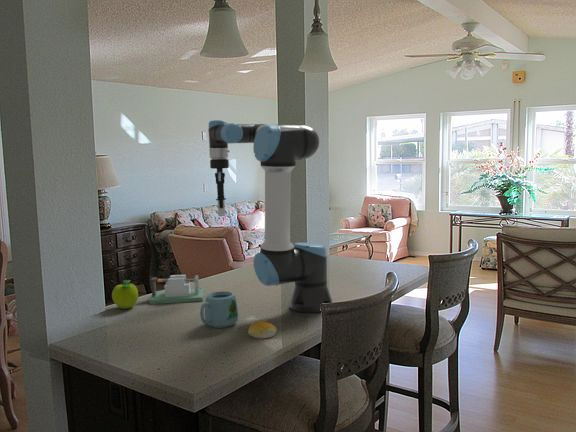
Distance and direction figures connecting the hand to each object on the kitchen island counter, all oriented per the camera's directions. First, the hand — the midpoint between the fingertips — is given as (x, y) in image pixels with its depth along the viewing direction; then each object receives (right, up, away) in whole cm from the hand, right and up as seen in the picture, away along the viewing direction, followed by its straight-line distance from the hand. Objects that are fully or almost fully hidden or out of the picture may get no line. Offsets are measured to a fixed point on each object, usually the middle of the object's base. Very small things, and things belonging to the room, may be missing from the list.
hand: (221, 215), depth 215 cm
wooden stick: (-16, -26, -12) cm, 33 cm away
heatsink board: (-16, -32, -11) cm, 38 cm away
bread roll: (+20, -37, -55) cm, 69 cm away
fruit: (-33, -34, -22) cm, 53 cm away
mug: (+5, -36, -46) cm, 59 cm away
